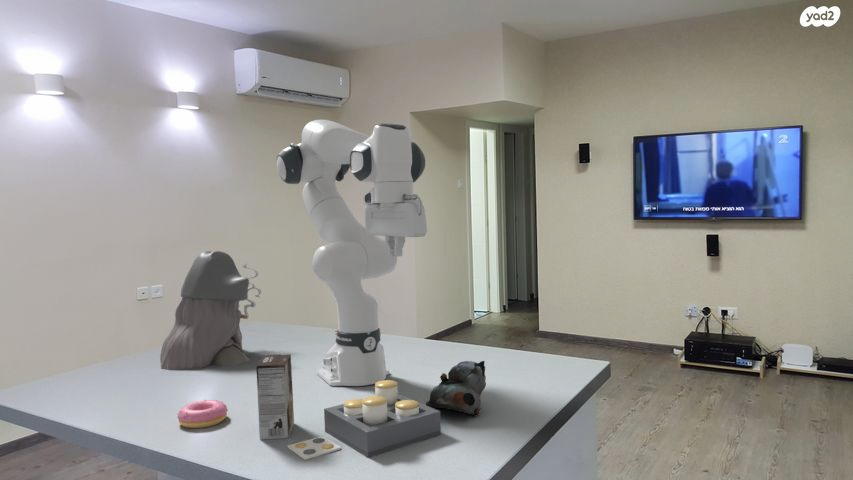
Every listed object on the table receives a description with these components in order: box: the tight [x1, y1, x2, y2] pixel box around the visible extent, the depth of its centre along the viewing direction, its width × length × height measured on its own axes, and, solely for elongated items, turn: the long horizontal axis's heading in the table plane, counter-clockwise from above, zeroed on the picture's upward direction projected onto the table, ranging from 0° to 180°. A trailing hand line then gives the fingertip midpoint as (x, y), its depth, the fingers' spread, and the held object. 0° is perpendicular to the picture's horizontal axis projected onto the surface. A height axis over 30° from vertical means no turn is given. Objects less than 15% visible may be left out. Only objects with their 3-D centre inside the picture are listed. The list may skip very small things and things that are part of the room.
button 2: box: [362, 395, 388, 427], centre depth 126 cm, size 5×5×5 cm
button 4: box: [395, 399, 420, 418], centre depth 131 cm, size 5×5×5 cm
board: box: [323, 393, 442, 458], centre depth 132 cm, size 18×18×5 cm
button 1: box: [343, 398, 364, 416], centre depth 132 cm, size 5×5×5 cm
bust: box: [159, 250, 262, 371], centre depth 203 cm, size 34×34×35 cm
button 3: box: [374, 379, 399, 407], centre depth 137 cm, size 5×5×5 cm
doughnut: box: [176, 399, 229, 429], centre depth 142 cm, size 11×11×4 cm
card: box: [287, 435, 342, 461], centre depth 125 cm, size 8×8×1 cm
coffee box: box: [255, 353, 295, 441], centre depth 134 cm, size 9×6×16 cm
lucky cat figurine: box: [424, 360, 487, 417], centre depth 145 cm, size 15×12×14 cm
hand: (395, 256), depth 140 cm, fingers closed
